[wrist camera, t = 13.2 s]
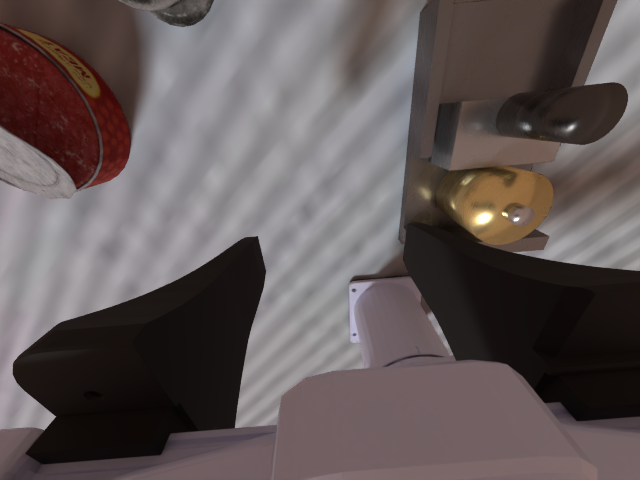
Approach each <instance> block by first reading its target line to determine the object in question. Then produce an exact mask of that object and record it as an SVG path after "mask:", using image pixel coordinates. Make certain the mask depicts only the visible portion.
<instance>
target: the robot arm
mask: <svg viewBox="0 0 640 480" xmlns="http://www.w3.org/2000/svg"><path fill="white" fill-rule="evenodd" d="M403 261H404V263H405V266H406V268H407V270H408V273H409V275H410V276H407V277H395V278H383V279H371V280H360V281H352V282H350V283H349V311H350V340H351V342H353V343H356V342H359V344H360V349H361V353H362V358H363V363H364V368H365V369H353V370H341V371H332V372H327V373H323V374H319V375H315V376H311V377H307V378H305V379H303V380H302V381H301V382H299V383H298V384H297V385H296V386H294V387H293V388H292V389H290V390H289V391H288V392H286V393H285V394H284V395H283V396H282V398H281V403H280V408H279V414H278V423H277V425H269V426H257V427H245V428H235V421H236V413H237V405H238V398H239V391H240V385H241V378H242V372H243V366H244V360H245V355H246V350H247V344H248V339H249V335H250V331H251V327H252V324H253V321H254V317H255V314H256V311H257V308H258V305H259V301H260V298H261V295H262V291H263V288H264V281H265V274H266V269H265V265H264V261H263V256H262V252H261V248H260V244H259V239H258V236H256V237H245V238H243V239H241V240H240V241H238V242H237V243H235V244H234V245H232V246H231V247H230V248H228V249H227V250H225V251H224V252H222V253H221V254H220V255H218V256H217V257H215V258H214V259H212V260H211V261H209V262H207V263H206V264H204V265H203V266H201V267H200V268H198V269H196V270H195V271H193V272H191V273H189V274H187V275H185V276H184V277H182V278H180V279H178V280H176V281H174V282H172V283H170V284H167V285H165V286H163V287H161V288H158V289H156V290H154V291H152V292H149V293H147V294H145V295H142V296H139V297H137V298H134V299H132V300H129V301H126V302H124V303H121V304H118V305H115V306H112V307H109V308H106V309H103V310H100V311H97V312H93V313H90V314H87V315H84V316H80V317H77V318H74V319H70V320H67V321H63V322H61V323H59V324H57V325H56V326H55V327H53V328H52V329H51V330H50V331H48V332H47V333H46V334H45V335H44V336H42V337H41V338H40V339H39V340H37V341H36V342H35V343H34V344H33V345H31V346H30V347H29V348H28V349H27V350H25V351H24V352H23V353H22V354H20V355H19V356H18V358H17V359H16V360H15V361H14V363H13V376H14V378H15V380H16V382H17V383H18V384H19V385H20V387H21V388H22V389H23V390H24V391H26V392H27V393H28V394H29V395H30V396H32V397H33V398H34V399H35V400H37V401H38V402H39V403H40V404H41V405H43V406H44V407H45V408H46V409H48V410H49V411H50V412H51V413H52V414H54V415H55V416H56V418H55V419H54V420H53V421H52V422H51V424H50V425H49V426H48V427H47V428H46V429H45V431H44V430H42V429H38V428H15V429H2V430H0V480H640V271H632V270H622V269H611V268H601V267H592V266H585V265H578V264H570V263H563V262H557V261H551V260H546V259H541V258H535V257H530V256H525V255H521V254H516V253H512V252H508V251H504V250H501V249H497V248H493V247H490V246H486V245H483V244H480V243H477V242H474V241H471V240H468V239H465V238H463V237H460V236H457V235H454V234H452V233H449V232H447V231H444V230H441V229H439V228H436V227H433V226H431V225H428V224H424V223H420V222H419V223H407V228H406V237H405V246H404V255H403ZM352 289H355V290H352ZM422 296H423V298H424V299H425V301H426V302H427V304H428V306H429V307H430V309H431V310H432V312H433V314H434V315H435V317H436V319H437V321H438V323H439V325H440V327H441V329H442V331H443V333H444V335H445V337H446V339H447V341H448V344H449V346H450V348H451V350H452V353H453V355H452V356H450V354H449V353H448V351H447V349H446V347H445V346H444V344H443V342H442V341H441V339H440V337H439V335H438V334H437V332H436V330H435V329H434V327H433V325H432V323H431V322H430V320H429V318H428V317H427V315H426V313H425V311H424V310H423V308H422V306H421V305H420V303H421V297H422Z"/></svg>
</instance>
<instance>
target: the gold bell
mask: <svg viewBox="0 0 640 480" xmlns="http://www.w3.org/2000/svg"><path fill="white" fill-rule="evenodd" d="M553 197H554V192H553V187H552V184H551V183H550V181H549V180H548V179H547V178H546V177H544V176H543V175H541V174H538V173H534V172H530V171H526V170H522V169H518V168H514V167H510V166H496V167H485V168H473V169H462V170H449V171H448V172H447V173H446V174H445V176H444V177H443V178H442V180H441V182H440V184H439V186H438V189H437V193H436V201H437V205H438V207H439V209H440V210H441V211H442V212H443V213H444V214H446V215H447V216H448V217H450V218H451V219H453V220H454V221H455V222H457V223H458V224H459V225H461V226H462V227H464V228H465V229H466V230H468V231H469V232H470V233H472V234H473V235H475V236H476V237H477V238H479V239H480V240H481V241H483V242H485V243H488V244H492V245H503V244H508V243H512V242H514V241H517V240H519V239H521V238H523V237H525V236H526V235H528V234H529V233H531V232H532V231H533V230H534V229H536V228H537V227H538V226H539V225H540V224H541V222H542V221H543V220H544V219H545V217H546V216H547V214H548V212H549V211H550V208H551V206H552V203H553Z"/></svg>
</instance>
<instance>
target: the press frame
mask: <svg viewBox="0 0 640 480" xmlns="http://www.w3.org/2000/svg"><path fill="white" fill-rule="evenodd" d="M616 3H617V0H487V1H476V2H465V3H455V4H454V0H433V1H432V2H431V3H430V4H429V5H428V6H427V7H426V8H425V9H424V10H423V11H422V12H420V21H419V32H418V42H417V52H416V63H415V73H414V83H413V94H412V104H411V114H410V125H409V135H408V145H407V156H406V166H405V176H404V187H403V197H402V207H401V218H400V228H399V241H400V242H401V244H405V237H406V228H407V223H419V222H420V223H424V224H428V225H431V226H433V227H436V228H439V229H441V230H444V231H447V232H449V233H452V234H454V235H457V236H460V237H463V238H465V239H468V240H471V241H474V242H477V243H480V244H483V245H486V246H490V247H493V248H497V249H501V250H504V251H508V252H522V251H534V250H544V247H545V245H546V243H547V241H548V238H549V236H548V235H546V234H544V233H542V232H540V231H538V230H536V229H534V230H533V231H532V232H531V233H529V234H528V235H526V236H525V237H523V238H521V239H519V240H517V241H514V242H512V243H508V244H503V245H492V244H488V243H485V242H483V241H481V240H480V239H479V238H477V237H476V236H475V235H473V234H472V233H470V232H469V231H468V230H466V229H465V228H464V227H462V226H461V225H459V224H458V223H457V222H455V221H454V220H453V219H451V218H450V217H448V216H447V215H446V214H444V213H443V212H442V211H441V210H440V209H439V207H438V205H437V201H436V193H437V189H438V186H439V184H440V182H441V180H442V178H443V177H444V176H445V174H446V173H447V172H448V171H449V170H447V169H444V168H442V167H439V166H437V165H434V164H432V163H431V157H432V150H433V143H434V136H435V130H436V123H437V116H438V109H439V104H444V103H455V102H465V101H477V100H488V99H499V98H510V97H512V96H514V95H516V94H518V93H523V92H532V91H540V90H549V89H558V88H567V87H576V86H584V84H585V82H586V79H587V76H588V74H589V71H590V69H591V66H592V64H593V61H594V59H595V56H596V54H597V51H598V48H599V46H600V43H601V41H602V38H603V36H604V33H605V31H606V28H607V26H608V23H609V20H610V18H611V15H612V13H613V10H614V8H615V5H616ZM560 145H561V143H560ZM508 166H510V167H514V168H518V169H522V170H526V171H530V172H531V169H532V166H533V163H531V164H519V165H508Z"/></svg>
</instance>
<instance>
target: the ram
mask: <svg viewBox="0 0 640 480" xmlns="http://www.w3.org/2000/svg"><path fill="white" fill-rule="evenodd" d="M627 102H628V94H627V90H626V89H625V87H624V86H623V85H621V84H619V83H603V84H594V85H585V86H576V87H567V88H558V89H549V90H540V91H532V92H523V93H518V94H516V95H514V96H512V97H510V98H499V99H488V100H477V101H465V102H455V103H444V104H439V109H438V116H437V123H436V130H435V136H434V143H433V150H432V157H431V163H432V164H434V165H437V166H439V167H442V168H444V169H447V170H462V169H473V168H485V167H496V166H508V165H519V164H531V163H542V162H553V161H554V159H555V156H556V154H557V151H558V148H559V146H560V143H569V144H579V145H584V144H589V143H592V142H595V141H597V140H599V139H600V138H602V137H604V136H605V135H606V134H607V133H609V132H610V131H611V130H612V129H613V128H614V127H615V126H616V124H617V123H618V122H619V120H620V119H621V117H622V116H623V114H624V112H625V109H626V106H627Z"/></svg>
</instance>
